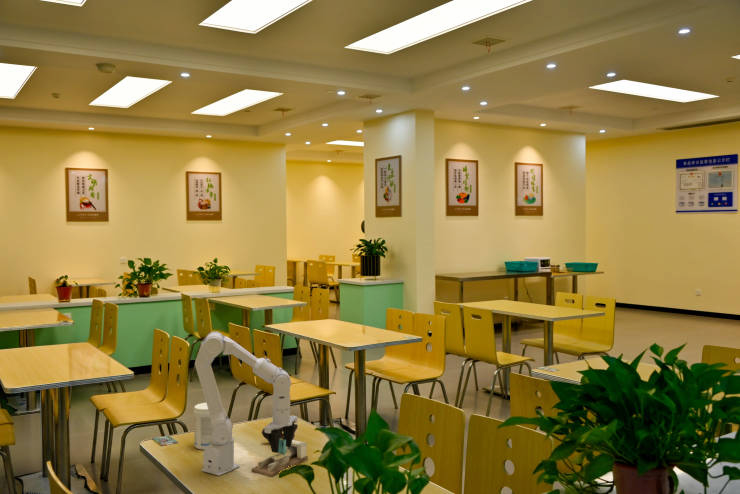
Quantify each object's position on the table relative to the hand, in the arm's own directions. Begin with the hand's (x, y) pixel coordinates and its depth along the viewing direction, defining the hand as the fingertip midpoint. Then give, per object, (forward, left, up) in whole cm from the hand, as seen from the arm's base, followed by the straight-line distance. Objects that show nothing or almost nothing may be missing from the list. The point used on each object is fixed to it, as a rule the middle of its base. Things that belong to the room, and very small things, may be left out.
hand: (281, 449), depth 210 cm
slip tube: (+2, 0, -4) cm, 5 cm away
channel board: (-1, 0, -5) cm, 5 cm away
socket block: (+7, 0, -4) cm, 8 cm away
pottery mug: (+16, +14, -6) cm, 22 cm away
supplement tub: (0, +34, -5) cm, 34 cm away
